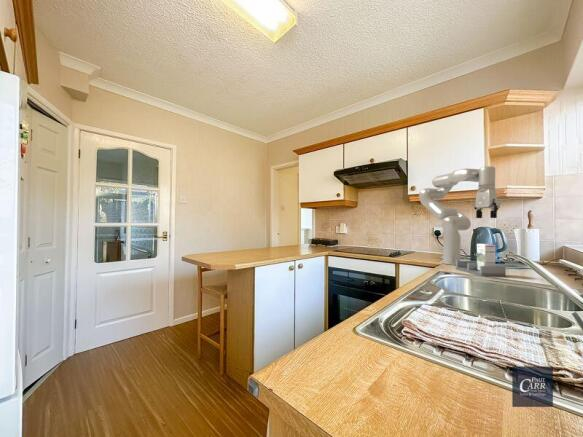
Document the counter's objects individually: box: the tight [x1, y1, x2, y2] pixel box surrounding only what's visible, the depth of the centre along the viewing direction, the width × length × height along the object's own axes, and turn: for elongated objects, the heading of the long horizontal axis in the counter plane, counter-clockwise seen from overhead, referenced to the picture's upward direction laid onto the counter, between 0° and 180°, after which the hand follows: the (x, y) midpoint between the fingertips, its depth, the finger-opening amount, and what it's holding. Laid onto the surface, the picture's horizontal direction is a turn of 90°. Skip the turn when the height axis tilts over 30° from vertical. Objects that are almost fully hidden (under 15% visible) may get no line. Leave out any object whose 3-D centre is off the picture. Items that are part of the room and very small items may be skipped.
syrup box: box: [476, 243, 496, 271], centre depth 128 cm, size 6×6×14 cm
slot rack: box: [455, 260, 507, 277], centre depth 132 cm, size 17×13×5 cm
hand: (486, 218), depth 140 cm, fingers open, 9 cm apart
